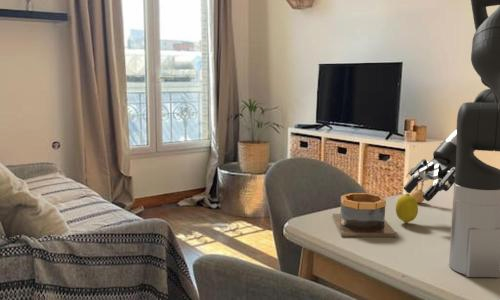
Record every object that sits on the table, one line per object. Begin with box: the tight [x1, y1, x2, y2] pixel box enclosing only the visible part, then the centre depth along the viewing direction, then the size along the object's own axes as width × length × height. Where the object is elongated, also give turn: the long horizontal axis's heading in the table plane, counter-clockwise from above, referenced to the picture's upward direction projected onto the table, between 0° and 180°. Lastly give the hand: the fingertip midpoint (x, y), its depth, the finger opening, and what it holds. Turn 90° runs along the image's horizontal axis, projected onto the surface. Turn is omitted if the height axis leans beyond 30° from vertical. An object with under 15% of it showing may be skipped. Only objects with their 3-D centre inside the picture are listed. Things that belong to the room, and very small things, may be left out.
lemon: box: [395, 193, 419, 224], centre depth 128 cm, size 6×6×8 cm
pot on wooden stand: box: [331, 192, 397, 238], centre depth 126 cm, size 16×13×8 cm
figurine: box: [405, 166, 425, 204], centre depth 149 cm, size 8×6×12 cm
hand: (415, 194), depth 128 cm, fingers open, 8 cm apart
